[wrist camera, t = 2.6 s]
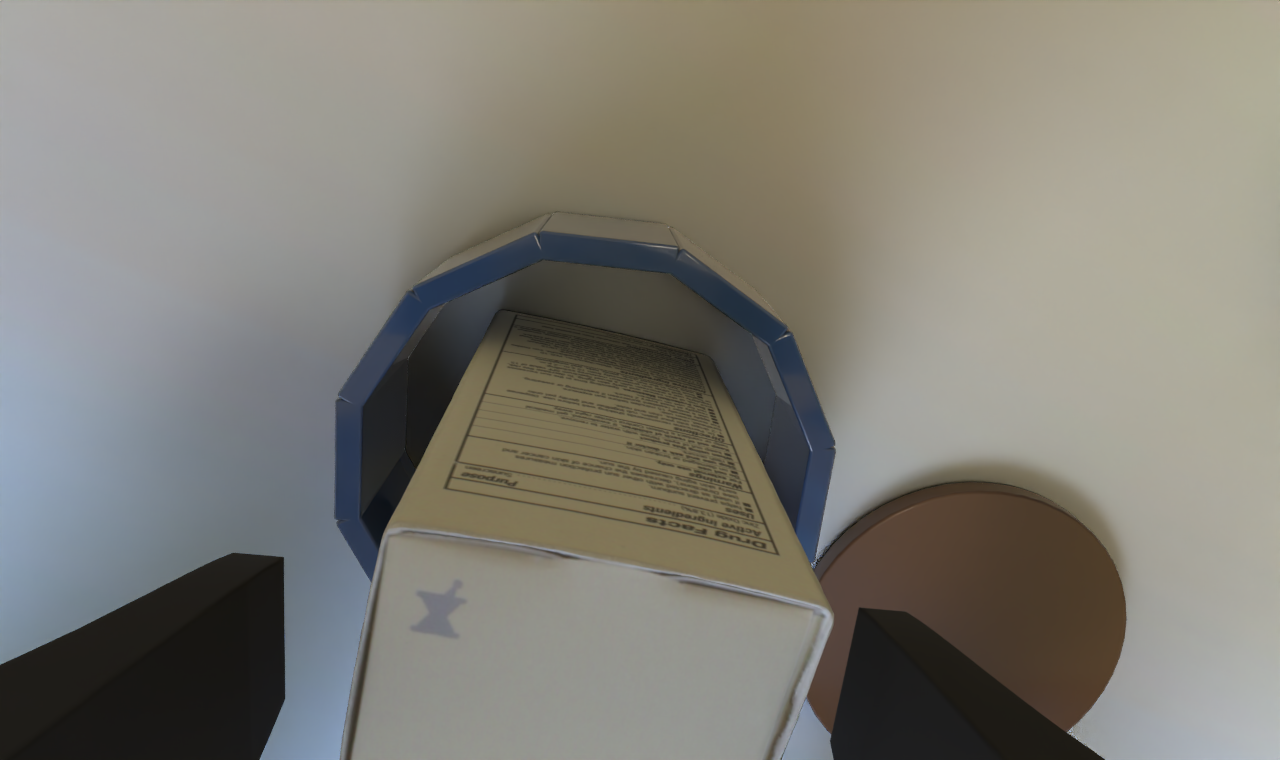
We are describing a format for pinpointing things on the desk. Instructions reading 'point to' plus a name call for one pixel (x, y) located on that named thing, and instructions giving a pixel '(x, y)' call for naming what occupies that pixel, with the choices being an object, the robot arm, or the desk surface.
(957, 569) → the walnut coaster
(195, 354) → the desk surface
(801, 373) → the blue ring
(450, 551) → the drug facts carton
